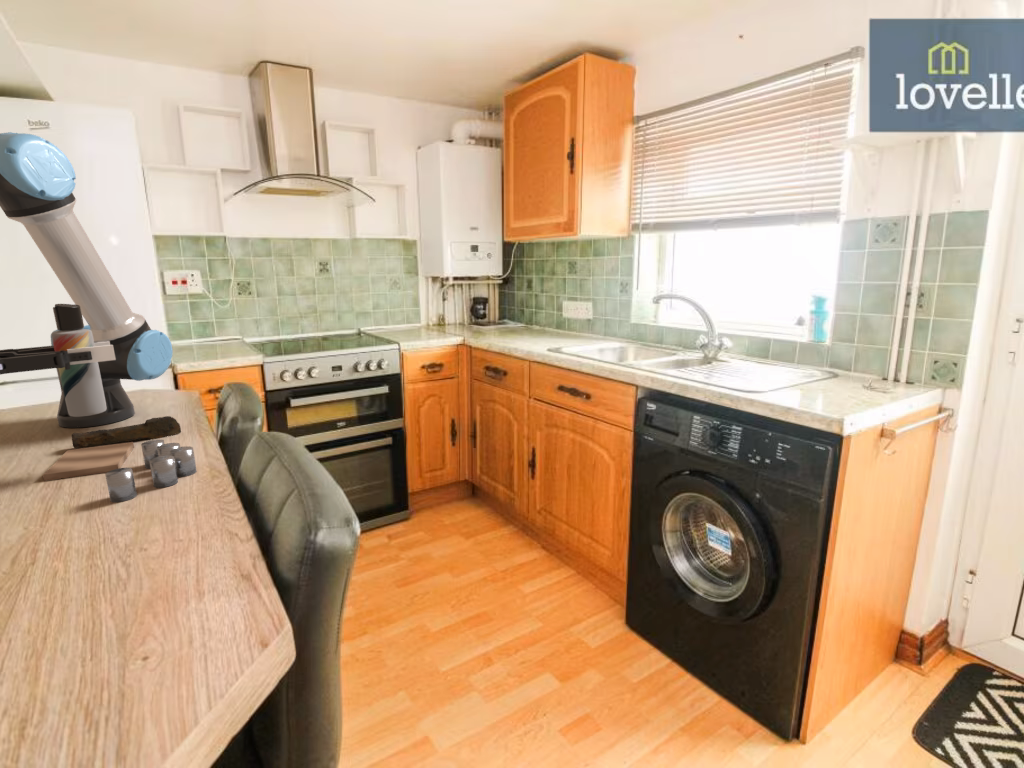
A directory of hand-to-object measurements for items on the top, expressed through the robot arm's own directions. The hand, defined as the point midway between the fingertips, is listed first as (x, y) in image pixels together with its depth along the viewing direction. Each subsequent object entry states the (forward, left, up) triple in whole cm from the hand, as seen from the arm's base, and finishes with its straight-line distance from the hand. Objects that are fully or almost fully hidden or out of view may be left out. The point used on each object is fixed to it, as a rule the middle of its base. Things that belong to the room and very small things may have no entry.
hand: (112, 350), depth 101 cm
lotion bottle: (+1, -5, -11) cm, 12 cm away
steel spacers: (+12, +6, -22) cm, 26 cm away
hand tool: (-14, -3, -22) cm, 27 cm away
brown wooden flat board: (-2, -7, -22) cm, 23 cm away
